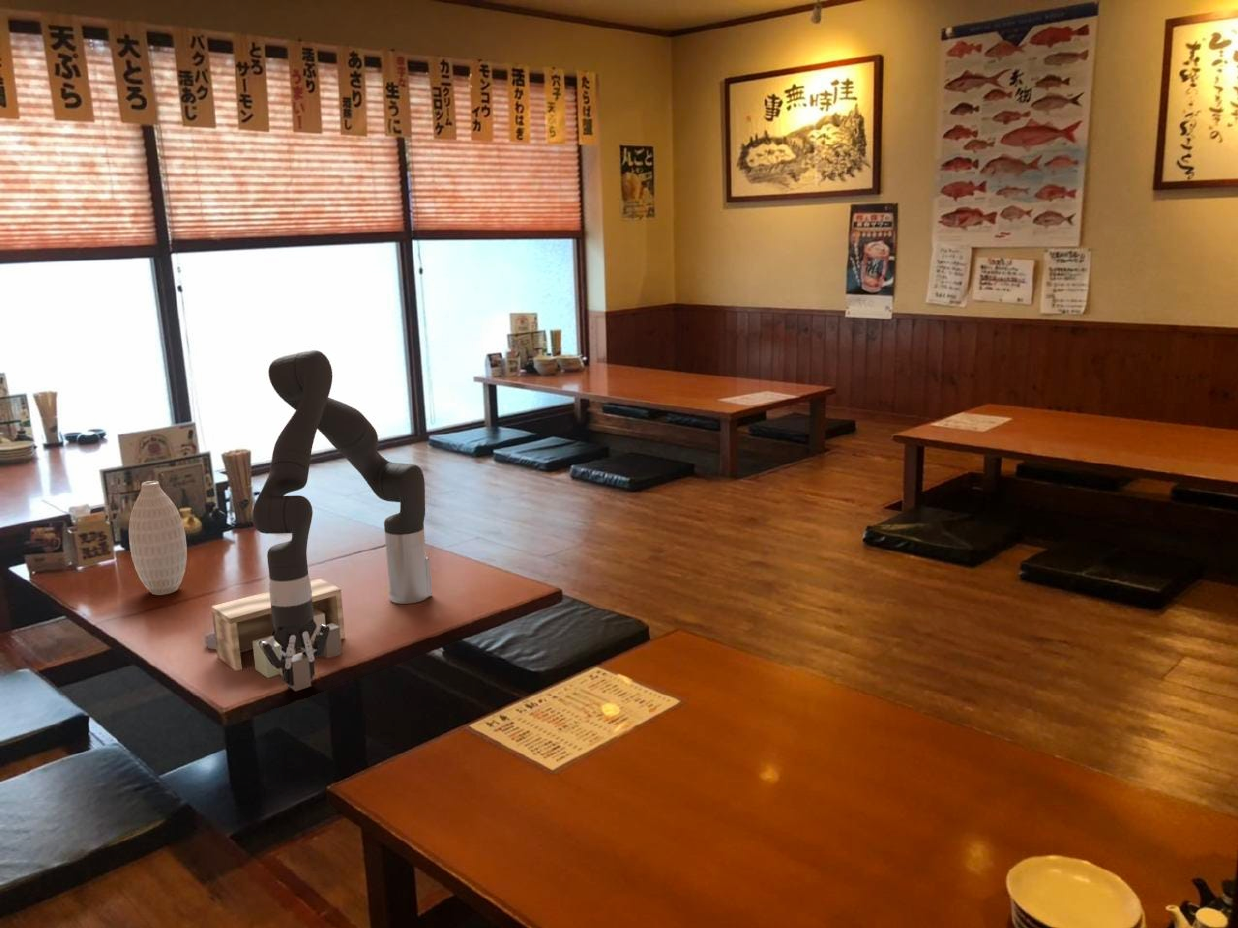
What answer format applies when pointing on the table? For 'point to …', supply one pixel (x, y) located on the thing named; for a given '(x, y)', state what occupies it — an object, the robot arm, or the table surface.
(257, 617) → the shelf
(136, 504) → the vase
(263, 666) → the sage block
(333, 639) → the cream block
